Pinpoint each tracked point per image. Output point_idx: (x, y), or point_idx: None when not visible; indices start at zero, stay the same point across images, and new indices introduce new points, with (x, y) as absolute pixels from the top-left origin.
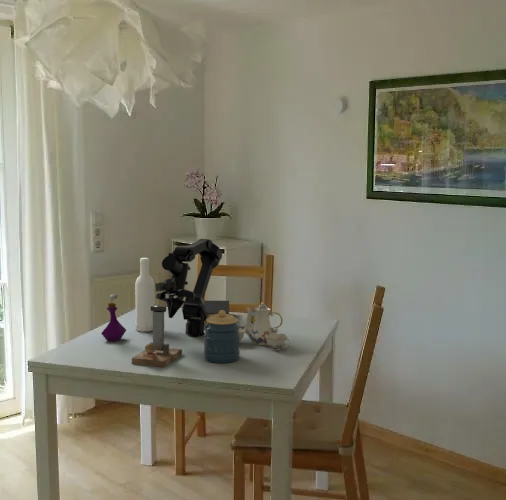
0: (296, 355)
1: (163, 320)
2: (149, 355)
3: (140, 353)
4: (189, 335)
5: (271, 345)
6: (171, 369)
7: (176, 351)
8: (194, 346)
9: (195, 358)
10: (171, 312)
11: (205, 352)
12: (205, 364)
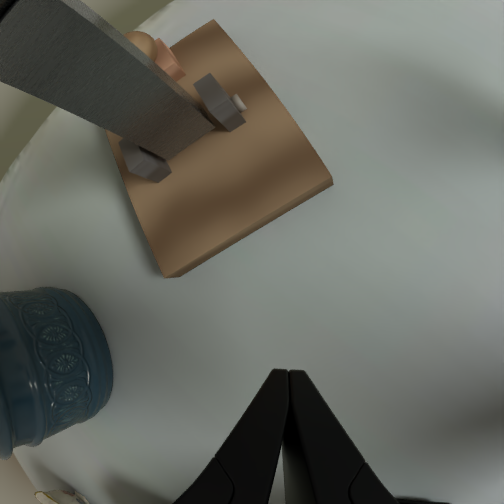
0: (36, 471)
1: (29, 84)
2: None
3: (242, 61)
4: (409, 501)
5: (62, 491)
6: (83, 131)
7: (150, 226)
8: None
9: (107, 281)
10: (243, 418)
11: (51, 294)
12: (52, 259)
